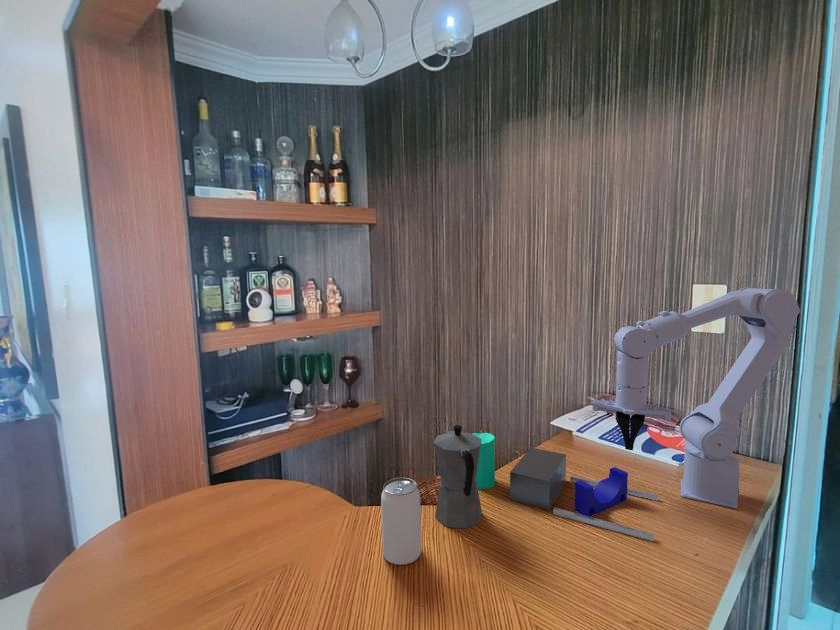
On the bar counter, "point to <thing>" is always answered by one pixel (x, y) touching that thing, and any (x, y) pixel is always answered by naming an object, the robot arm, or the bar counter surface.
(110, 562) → the bar counter surface
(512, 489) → the grey block with bars
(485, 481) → the candle
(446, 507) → the coffeepot
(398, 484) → the can
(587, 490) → the cable clip
